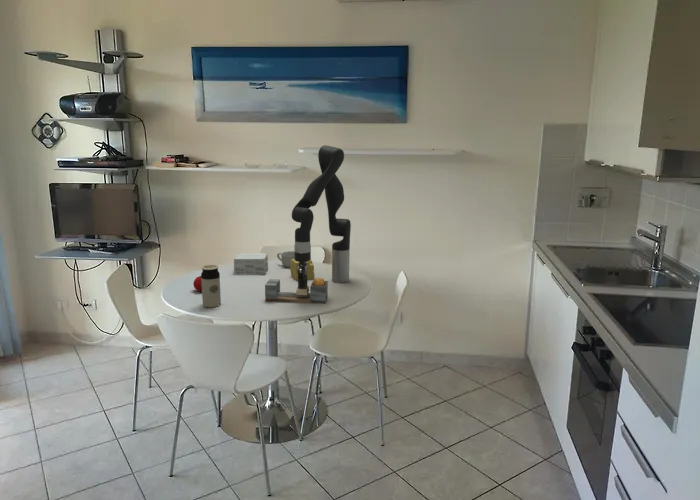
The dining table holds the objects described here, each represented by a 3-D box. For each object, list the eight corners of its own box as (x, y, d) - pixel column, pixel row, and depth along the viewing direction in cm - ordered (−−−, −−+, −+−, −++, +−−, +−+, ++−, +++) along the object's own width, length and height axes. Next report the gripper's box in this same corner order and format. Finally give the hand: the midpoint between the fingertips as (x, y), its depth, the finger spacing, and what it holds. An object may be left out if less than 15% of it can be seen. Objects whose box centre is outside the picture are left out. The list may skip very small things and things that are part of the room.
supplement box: (268, 268, 296) (267, 253, 294) (265, 275, 283) (264, 258, 281) (238, 268, 296) (238, 252, 294) (234, 275, 283) (233, 258, 281)
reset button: (314, 286, 245) (314, 277, 244) (324, 286, 244) (325, 278, 244) (313, 289, 240) (313, 281, 239) (323, 290, 240) (323, 281, 239)
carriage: (298, 290, 247) (298, 273, 245) (309, 290, 246) (309, 273, 245) (296, 294, 240) (296, 277, 238) (306, 295, 240) (306, 277, 238)
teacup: (303, 265, 303) (303, 252, 301) (292, 269, 294) (291, 256, 292) (285, 262, 310) (284, 249, 308) (273, 266, 301) (272, 252, 299)
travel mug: (202, 303, 237) (199, 265, 233) (219, 301, 240) (218, 263, 235) (203, 308, 230) (201, 269, 225) (221, 306, 232) (220, 268, 228)
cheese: (314, 279, 277) (314, 261, 274) (295, 281, 273) (295, 263, 270) (308, 274, 286) (308, 256, 284) (290, 276, 282) (289, 258, 280)
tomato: (216, 289, 256) (215, 274, 254) (202, 294, 249) (202, 278, 247) (203, 286, 261) (202, 271, 259) (189, 291, 253) (188, 275, 251)
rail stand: (269, 294, 250) (269, 279, 248) (327, 296, 248) (327, 280, 246) (265, 301, 240) (264, 285, 238) (325, 303, 238) (325, 287, 237)
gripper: (297, 246, 246) (297, 281, 250) (291, 253, 232) (292, 290, 236) (312, 247, 245) (312, 282, 249) (308, 254, 231) (308, 291, 235)
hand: (302, 286), depth 242 cm, fingers closed on carriage, 3 cm apart
